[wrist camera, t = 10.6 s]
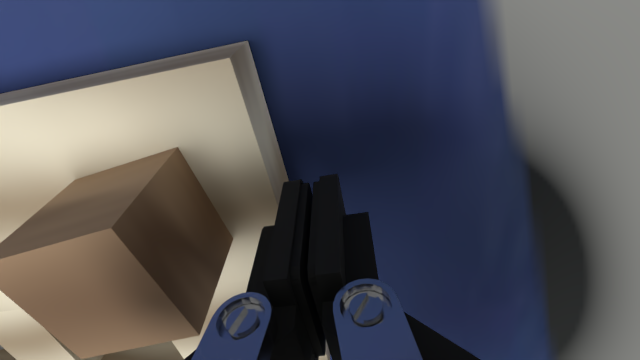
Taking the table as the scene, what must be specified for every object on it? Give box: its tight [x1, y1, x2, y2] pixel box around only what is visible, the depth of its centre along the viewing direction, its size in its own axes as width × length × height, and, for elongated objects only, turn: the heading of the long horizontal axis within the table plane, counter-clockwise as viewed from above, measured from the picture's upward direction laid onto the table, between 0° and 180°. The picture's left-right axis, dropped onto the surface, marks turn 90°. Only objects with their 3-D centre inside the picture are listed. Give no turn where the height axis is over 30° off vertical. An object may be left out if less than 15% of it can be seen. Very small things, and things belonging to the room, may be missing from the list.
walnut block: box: [0, 147, 233, 359], centre depth 11 cm, size 4×4×4 cm
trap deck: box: [0, 41, 330, 360], centre depth 15 cm, size 15×25×5 cm, turn 101°
